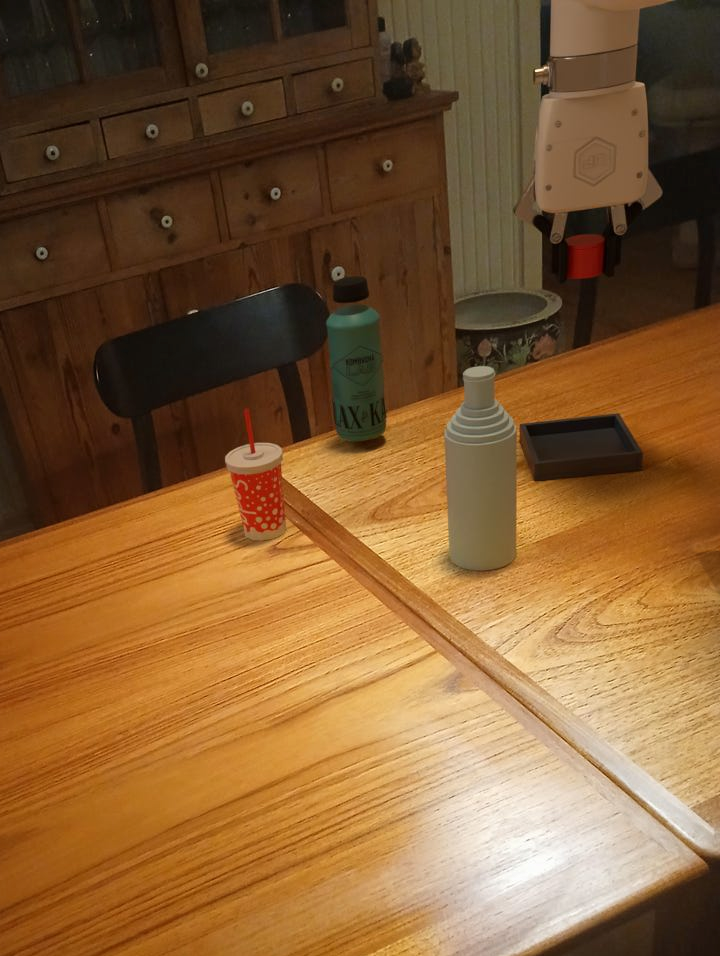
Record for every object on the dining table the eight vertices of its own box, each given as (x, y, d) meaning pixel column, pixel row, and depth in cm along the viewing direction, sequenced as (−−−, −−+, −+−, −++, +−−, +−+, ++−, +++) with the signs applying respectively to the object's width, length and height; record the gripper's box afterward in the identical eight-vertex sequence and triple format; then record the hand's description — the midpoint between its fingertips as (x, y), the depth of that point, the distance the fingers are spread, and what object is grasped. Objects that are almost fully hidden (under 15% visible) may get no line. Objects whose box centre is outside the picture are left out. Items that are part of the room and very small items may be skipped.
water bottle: (510, 535, 99) (510, 354, 88) (521, 567, 93) (522, 379, 83) (445, 541, 100) (438, 363, 89) (453, 574, 94) (446, 388, 84)
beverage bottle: (327, 442, 125) (309, 281, 114) (373, 427, 127) (360, 267, 116) (352, 458, 120) (336, 291, 109) (399, 442, 121) (388, 276, 110)
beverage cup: (232, 525, 110) (211, 406, 102) (285, 512, 110) (268, 393, 103) (244, 549, 105) (223, 425, 97) (299, 535, 105) (282, 412, 98)
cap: (568, 281, 99) (569, 248, 97) (557, 269, 102) (558, 238, 101) (608, 275, 99) (610, 242, 97) (596, 263, 102) (598, 231, 100)
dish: (618, 429, 115) (619, 412, 114) (641, 470, 106) (643, 452, 104) (519, 440, 117) (519, 423, 115) (534, 481, 107) (534, 463, 106)
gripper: (504, 92, 89) (504, 298, 99) (700, 61, 86) (680, 276, 96) (493, 83, 95) (495, 278, 105) (676, 54, 92) (659, 256, 102)
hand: (583, 275), depth 100 cm, fingers closed on cap, 4 cm apart
